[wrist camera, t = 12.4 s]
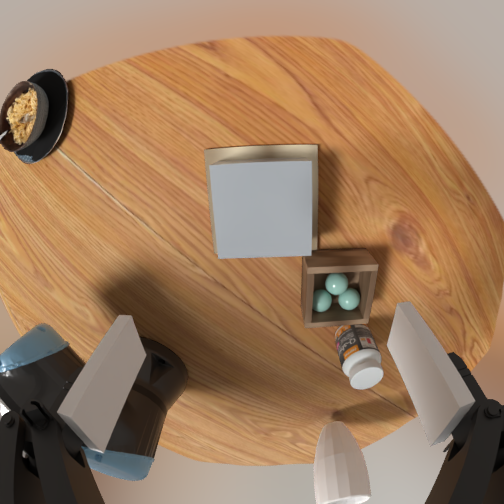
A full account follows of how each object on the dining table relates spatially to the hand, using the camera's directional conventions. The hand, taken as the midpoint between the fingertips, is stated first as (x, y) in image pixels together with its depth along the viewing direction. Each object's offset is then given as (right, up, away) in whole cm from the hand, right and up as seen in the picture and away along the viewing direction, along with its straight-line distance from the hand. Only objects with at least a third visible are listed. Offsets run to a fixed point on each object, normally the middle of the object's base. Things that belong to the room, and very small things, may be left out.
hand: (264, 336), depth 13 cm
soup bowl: (-34, +25, +16) cm, 45 cm away
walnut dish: (+10, 0, +24) cm, 26 cm away
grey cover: (+1, +10, +20) cm, 22 cm away
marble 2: (+10, +2, +22) cm, 24 cm away
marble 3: (+12, -2, +24) cm, 27 cm away
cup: (+16, -31, +37) cm, 51 cm away
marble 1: (+9, -2, +24) cm, 26 cm away
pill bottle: (+15, -9, +28) cm, 33 cm away
